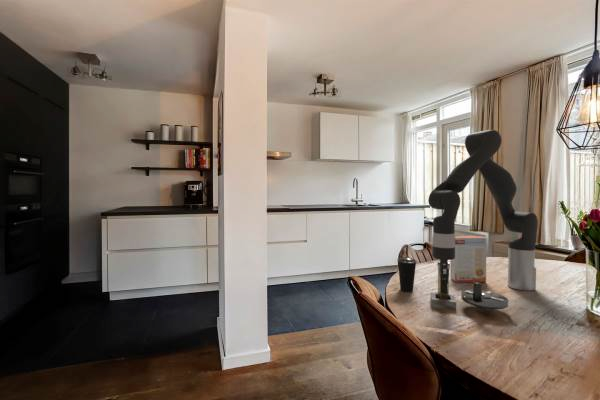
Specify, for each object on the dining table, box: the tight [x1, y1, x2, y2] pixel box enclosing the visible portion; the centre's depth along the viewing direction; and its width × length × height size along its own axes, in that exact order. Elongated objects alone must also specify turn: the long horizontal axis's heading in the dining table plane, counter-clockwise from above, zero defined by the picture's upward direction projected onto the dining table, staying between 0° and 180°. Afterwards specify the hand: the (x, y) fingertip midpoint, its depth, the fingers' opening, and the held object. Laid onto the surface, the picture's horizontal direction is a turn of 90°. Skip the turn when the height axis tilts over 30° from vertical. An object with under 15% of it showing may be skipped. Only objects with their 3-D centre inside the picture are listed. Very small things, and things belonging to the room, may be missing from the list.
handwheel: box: [460, 282, 509, 310], centre depth 104 cm, size 14×14×8 cm
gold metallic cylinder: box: [437, 270, 450, 300], centre depth 109 cm, size 4×4×11 cm
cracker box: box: [449, 235, 487, 283], centre depth 140 cm, size 14×6×21 cm, turn 84°
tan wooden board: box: [430, 291, 511, 323], centre depth 106 cm, size 23×15×4 cm, turn 68°
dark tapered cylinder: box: [397, 244, 418, 293], centre depth 125 cm, size 8×8×20 cm
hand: (443, 291), depth 109 cm, fingers closed on gold metallic cylinder, 3 cm apart
